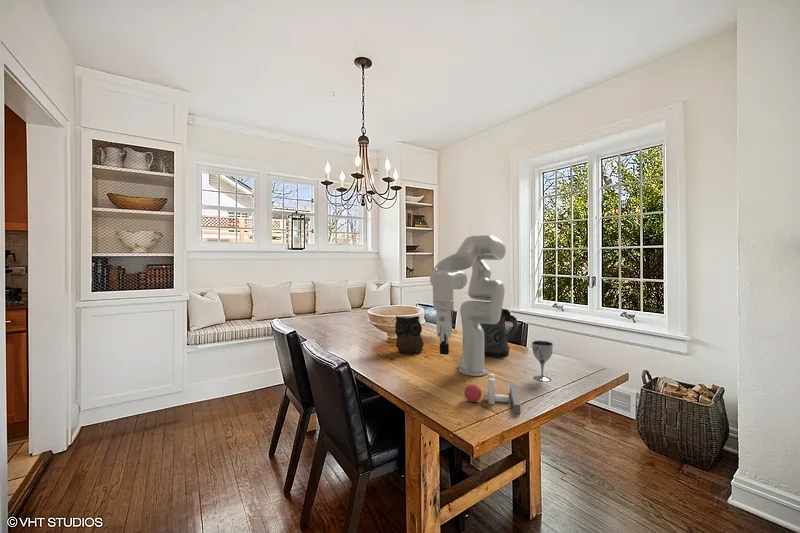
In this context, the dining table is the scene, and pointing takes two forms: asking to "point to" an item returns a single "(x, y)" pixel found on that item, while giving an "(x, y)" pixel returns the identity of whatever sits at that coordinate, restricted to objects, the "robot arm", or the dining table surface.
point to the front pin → (498, 398)
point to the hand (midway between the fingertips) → (444, 353)
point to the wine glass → (542, 356)
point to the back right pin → (491, 391)
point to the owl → (408, 335)
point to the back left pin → (491, 376)
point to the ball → (472, 393)
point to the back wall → (515, 399)
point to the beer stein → (498, 336)
